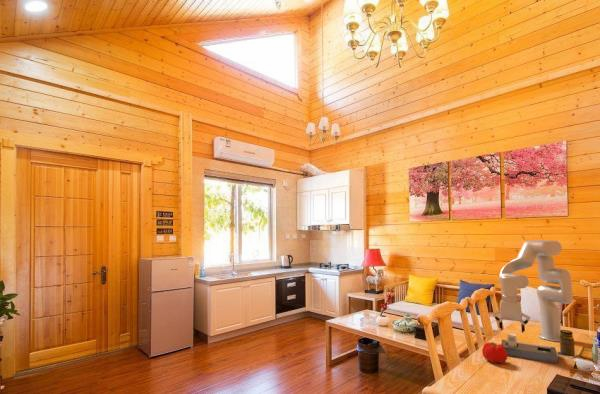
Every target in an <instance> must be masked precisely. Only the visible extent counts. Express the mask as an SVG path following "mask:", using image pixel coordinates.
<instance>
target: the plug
mask: <svg viewBox="0 0 600 394" xmlns="http://www.w3.org/2000/svg"><path fill="white" fill-rule="evenodd" d="M506 337H507V338H506V340H508V345H509V346H515V347H517V342H518V341H517V334H514V333H513V334H512V333H507V335H506Z"/></svg>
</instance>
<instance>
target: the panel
mask: <svg viewBox="0 0 600 394" xmlns="http://www.w3.org/2000/svg"><path fill="white" fill-rule="evenodd" d="M500 345H503V346H504V348H505V350H506V352H507V357H512V358H513V357H514V358H520V359H526V360H530V361H531V360H532V361H535V362H536V361H537V362H542V363H549V364H554V365H559V362H558V361H559V360H558V354H557V353H558V352H557V349H556V347H555V346H549V345H548V346H547V345H543V344H534V343H529V342H528V343H527V342H521V341H517V347H515V346H509V345H508V340H507V339H501V343H500Z"/></svg>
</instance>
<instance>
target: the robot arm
mask: <svg viewBox="0 0 600 394" xmlns="http://www.w3.org/2000/svg"><path fill="white" fill-rule="evenodd" d="M521 245H522V246H521V247H520V249H519V252H518V254H517V256H516V258H515V259H512V260H510V261H509V262H508V263H506V264H504V266H503V267H502V268H501V270H500V272H499V275H498V282H499V284H500V291H501V295H500V296H501V299H500V301H499V310H498V311H495V312H493V313H492V316H493V317H494V318H495V320H496V321H497V322H498V327H499V329H500V330H501V331H503V328H504V327H503V321H504V320H505V321H514V322H519V323H520V324H521V327H520V328H521V333H523V334H524V332H526V329H525V327H526V326H525V325H527V324H528V323H529V321H530V319H531V317H530V316H529V315H527V314H525V313H524V312H523V311H522V305H521V302H520V301H521V300H522V298H521V297H520V296H518V289H526V288H527V287H528V285H529V282H530V281H529V279H528V277H527V276H525V275H523V274H518V273H515V272H517V271H521V270H525V269H529V268H531V267H533V265H534V263H535V260H536V263H537V274H538V279H539V281H540V282H541V283H545V284H540V285H539V286H538V287H537V288H536V294H537V298H538V303H539V315H540V328H541V329H540V330H541V333H539V334H538V337H539V338H540V339H543V340H546V341H551V342H558V343H560V330H562V329H561V321H560V320H561V318H560V317H561V316H560V314H561V313H560V309H559V307H558V305H557V303H559V304H564V305H568V304H572V302H573V299H574V297H573V295H574V294H573V283H572V276H571V274H570V272H569V270H568V269H567V268H566V269H565V268H558V267H555V259H554V258H553V256H558V255H559V254H561V252H562V250H563V249H562V248H563V247H562V245H561V243H560V242H559V241H558V240H551V239H546V240H545V239H532V240H526V241H524V242H523V243H522V244H521ZM550 284H551V285H550ZM552 284H553V285H552ZM557 285H558V286H557ZM498 315H499V316H500V318H499V317H498ZM523 317H524V318H526V319H525V320H523Z"/></svg>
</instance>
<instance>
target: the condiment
mask: <svg viewBox="0 0 600 394" xmlns="http://www.w3.org/2000/svg"><path fill="white" fill-rule="evenodd" d="M559 349H560V351H558V352H556V353H557V356H563V357H566V358H569V359H570V358H571V359H572V358H575V357H576V356H575V354H577V353H576V352H575V351H576V348H575V338H574V335H573V331H571V330H568V329H561V330H560V342H559ZM578 355H579V354H577V356H578Z"/></svg>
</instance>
